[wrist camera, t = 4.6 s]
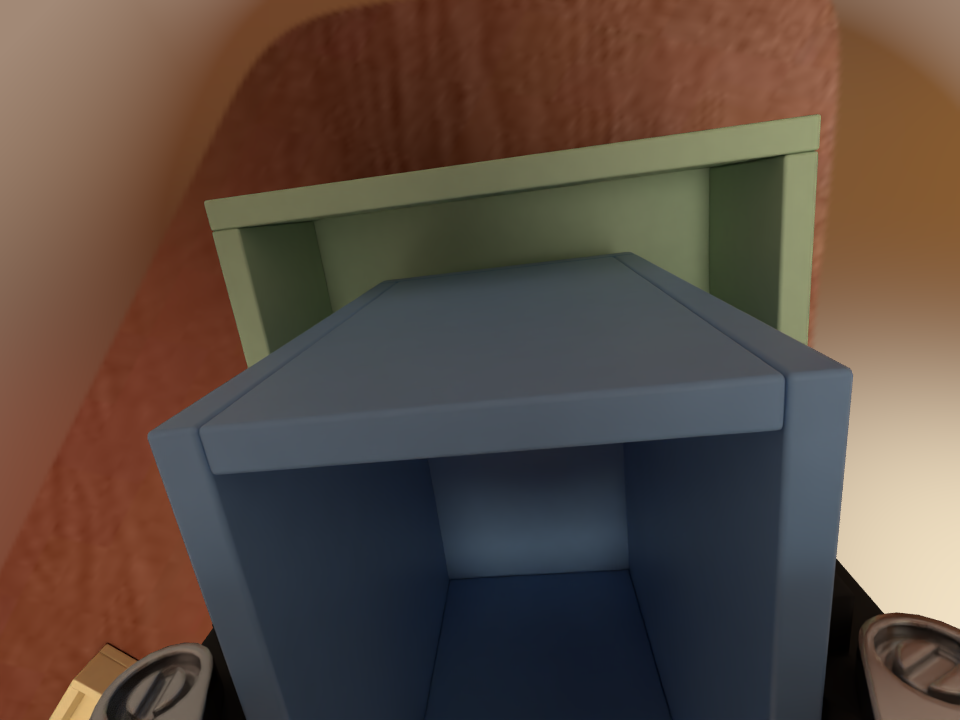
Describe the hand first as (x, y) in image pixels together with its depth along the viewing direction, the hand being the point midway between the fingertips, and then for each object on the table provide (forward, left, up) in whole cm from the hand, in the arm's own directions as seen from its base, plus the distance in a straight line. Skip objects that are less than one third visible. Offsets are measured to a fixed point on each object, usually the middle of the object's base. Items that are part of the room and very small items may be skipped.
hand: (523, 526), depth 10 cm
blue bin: (0, 0, -4) cm, 4 cm away
